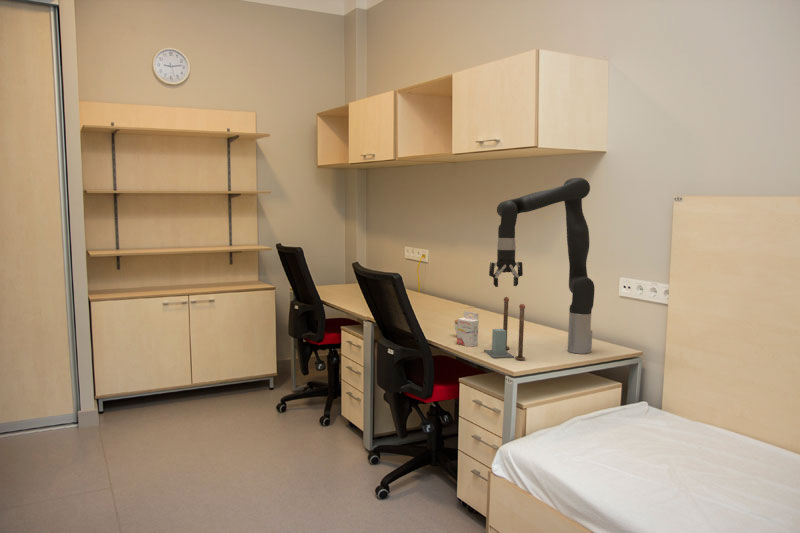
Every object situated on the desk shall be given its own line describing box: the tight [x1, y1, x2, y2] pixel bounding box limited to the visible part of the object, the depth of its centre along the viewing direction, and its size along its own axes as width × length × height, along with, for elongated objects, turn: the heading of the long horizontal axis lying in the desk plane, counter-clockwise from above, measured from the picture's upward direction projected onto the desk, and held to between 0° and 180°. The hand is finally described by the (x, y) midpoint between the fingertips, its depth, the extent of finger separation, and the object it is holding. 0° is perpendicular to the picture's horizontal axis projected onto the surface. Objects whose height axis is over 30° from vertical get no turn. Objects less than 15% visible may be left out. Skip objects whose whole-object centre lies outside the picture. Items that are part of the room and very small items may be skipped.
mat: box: [483, 349, 515, 359], centre depth 255 cm, size 9×12×1 cm
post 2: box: [514, 303, 526, 362], centre depth 246 cm, size 4×4×23 cm
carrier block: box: [491, 328, 507, 355], centre depth 254 cm, size 4×4×10 cm
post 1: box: [502, 296, 510, 351], centre depth 264 cm, size 4×4×23 cm
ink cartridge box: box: [456, 310, 479, 348], centre depth 271 cm, size 9×5×15 cm, turn 48°
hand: (505, 286), depth 256 cm, fingers open, 8 cm apart
